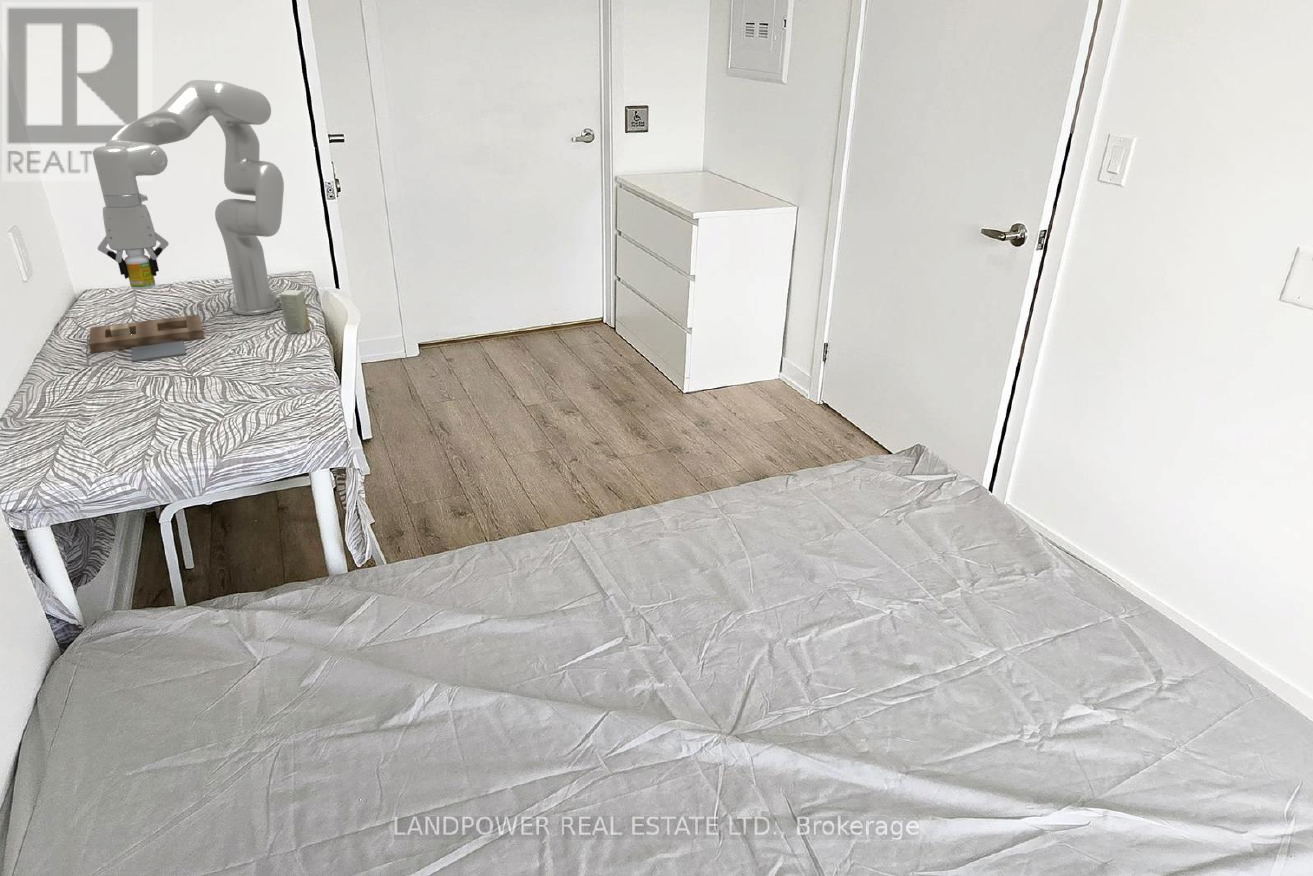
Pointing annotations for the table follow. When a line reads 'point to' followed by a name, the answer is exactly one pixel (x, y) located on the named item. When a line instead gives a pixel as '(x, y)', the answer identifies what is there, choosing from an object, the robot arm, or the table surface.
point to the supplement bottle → (139, 269)
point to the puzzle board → (147, 333)
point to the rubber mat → (158, 351)
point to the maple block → (120, 330)
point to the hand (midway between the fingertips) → (140, 275)
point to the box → (294, 311)
